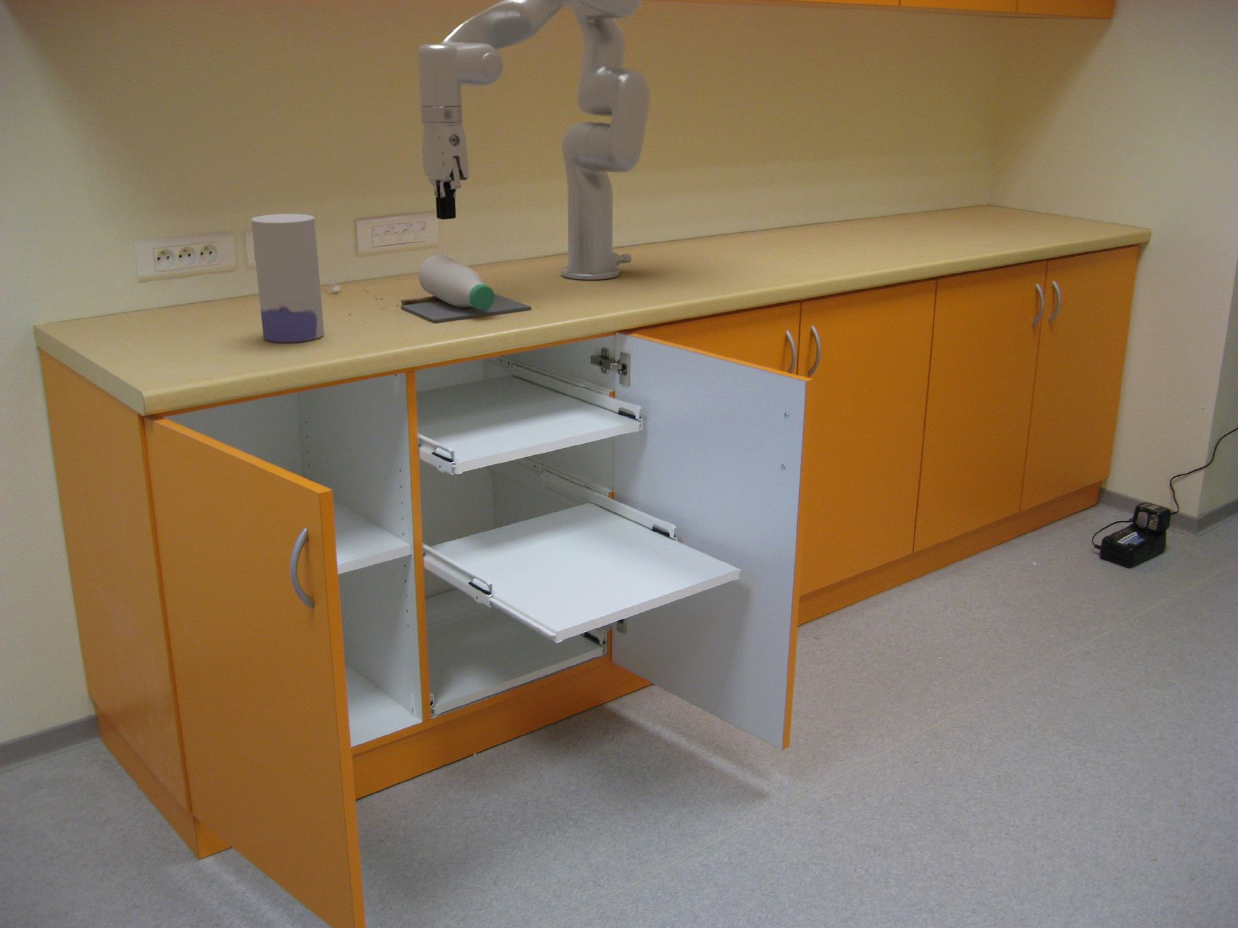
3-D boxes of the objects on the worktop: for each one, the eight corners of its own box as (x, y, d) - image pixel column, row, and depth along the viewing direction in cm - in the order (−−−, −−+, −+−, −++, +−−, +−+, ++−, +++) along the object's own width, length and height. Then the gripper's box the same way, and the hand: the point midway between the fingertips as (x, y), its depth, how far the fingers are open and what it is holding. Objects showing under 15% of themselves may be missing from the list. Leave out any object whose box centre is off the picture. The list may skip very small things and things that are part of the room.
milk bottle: (414, 292, 221) (462, 318, 206) (419, 252, 219) (468, 276, 204) (450, 294, 226) (500, 320, 211) (455, 255, 223) (506, 278, 208)
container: (329, 329, 201) (319, 213, 194) (317, 343, 191) (306, 221, 184) (271, 329, 200) (260, 213, 193) (256, 343, 191) (243, 221, 184)
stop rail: (485, 295, 228) (485, 289, 227) (488, 296, 227) (488, 290, 226) (401, 306, 218) (401, 300, 218) (404, 307, 217) (404, 301, 217)
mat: (495, 296, 227) (494, 293, 226) (531, 309, 216) (531, 306, 216) (401, 309, 216) (400, 305, 216) (434, 323, 205) (433, 320, 205)
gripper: (479, 118, 205) (483, 222, 212) (441, 113, 217) (446, 212, 223) (441, 119, 201) (446, 225, 208) (405, 115, 213) (410, 215, 219)
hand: (446, 218), depth 215 cm, fingers closed
